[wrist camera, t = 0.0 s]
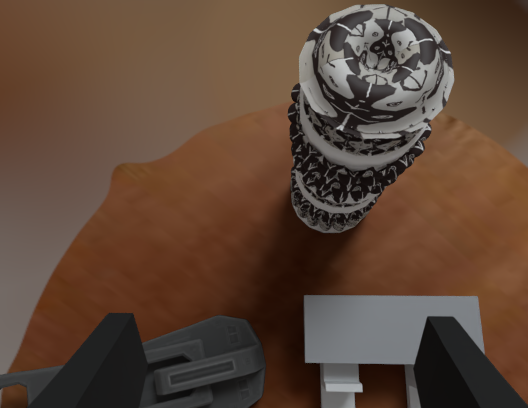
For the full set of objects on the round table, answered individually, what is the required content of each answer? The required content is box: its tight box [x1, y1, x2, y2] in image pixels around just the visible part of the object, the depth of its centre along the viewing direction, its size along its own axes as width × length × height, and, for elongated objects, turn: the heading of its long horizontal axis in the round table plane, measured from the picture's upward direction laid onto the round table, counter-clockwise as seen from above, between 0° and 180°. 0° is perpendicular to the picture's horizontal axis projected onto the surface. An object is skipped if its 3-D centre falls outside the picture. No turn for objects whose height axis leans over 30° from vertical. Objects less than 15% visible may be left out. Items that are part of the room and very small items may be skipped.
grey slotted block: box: [303, 295, 485, 408], centre depth 37 cm, size 11×14×7 cm
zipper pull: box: [0, 315, 266, 408], centre depth 38 cm, size 9×7×25 cm
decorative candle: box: [288, 4, 454, 233], centre depth 33 cm, size 9×9×25 cm
